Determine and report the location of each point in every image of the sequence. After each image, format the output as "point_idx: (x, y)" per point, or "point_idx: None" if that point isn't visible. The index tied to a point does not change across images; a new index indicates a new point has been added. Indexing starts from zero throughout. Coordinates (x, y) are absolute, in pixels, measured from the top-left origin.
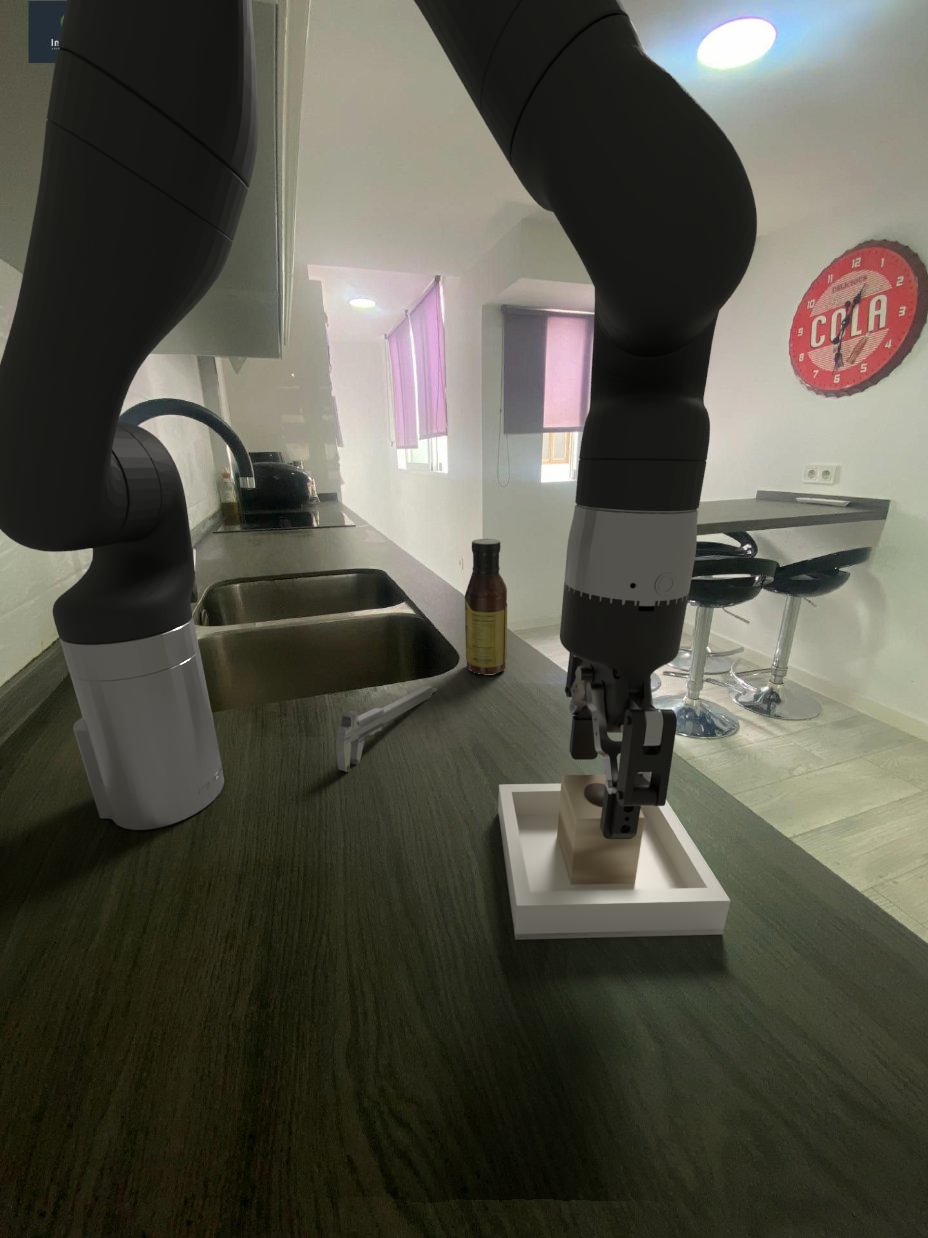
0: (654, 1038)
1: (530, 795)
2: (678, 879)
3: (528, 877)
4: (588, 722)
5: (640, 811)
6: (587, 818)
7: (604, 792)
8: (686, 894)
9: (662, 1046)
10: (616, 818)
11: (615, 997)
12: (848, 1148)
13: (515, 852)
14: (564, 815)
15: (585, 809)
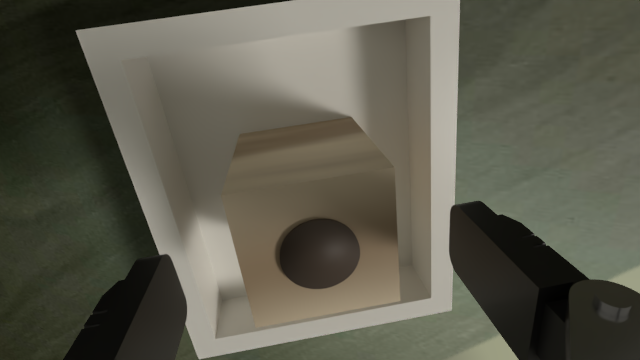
0: (39, 215)
1: (426, 66)
2: None
3: (241, 56)
4: (526, 323)
5: (273, 323)
6: (227, 219)
7: (122, 342)
8: (194, 313)
9: (33, 222)
10: (79, 335)
11: (75, 177)
12: (10, 350)
13: (225, 26)
14: (323, 148)
15: (259, 217)
